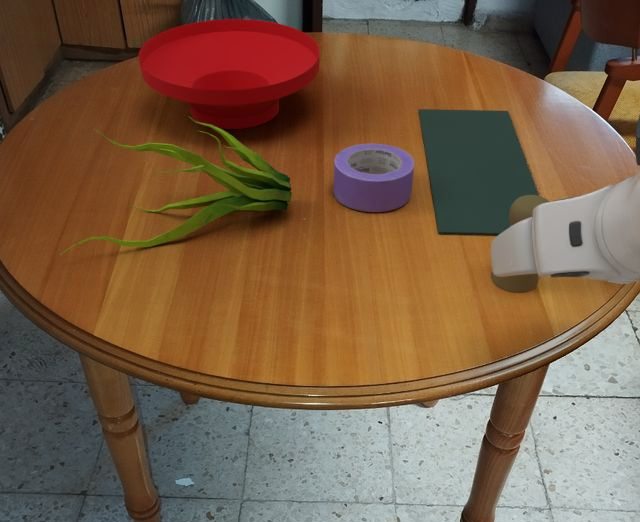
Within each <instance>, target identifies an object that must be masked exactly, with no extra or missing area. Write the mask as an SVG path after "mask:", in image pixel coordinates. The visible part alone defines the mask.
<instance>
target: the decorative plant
mask: <svg viewBox="0 0 640 522" xmlns="http://www.w3.org/2000/svg"><path fill="white" fill-rule="evenodd" d="M187 118H189V119H190V120H192V121H193V122H194V123H196V124H198V125H201V126H204V127H208V128H210V129H211V130H214V131H215V132H216V133H218V134H220V135H221V136H222V137H223V138H224V140H225V141H226V142H227V143H228V145H229V146H226V145H224V144H222V145H221V140H220V139H219V138H218V137H217V136H215V135H213V134H210V133H209V132H206V131H201V130H198V132H200V133H203V134H207V135H209V136H211V137H212V138H214V139H215V140H216V141H217V143H218V153H219V157H220V160H221V163H222V166H224V167H225V168H223V167H221V166H219V165H216V164H214V163H212V162H210V161H208V160H207V159H205V158H204V157H202V156H201V154H197V153H195V152H192V151H189V150H187V149H185V148H183V147H181V146H177V145H176V144H172V143H161V142H147V143H143V144H139V145H134V146H131V145H127V144H120V143H118V142H116V141H114V140H113V139H109V138H107V136H105V135H104V134H102V133H101V132H100V131H99V130H97V129H96V128H94V131H96V132H97V133H98V134H100V136H103V137H104V138H105V139H106V140H108V141H109V142H110V143H112V144H113V145H115V146H118V147H120V148H122V149H127V150H133V151H136V152H153V153H157V154H161V155H164V156H168V157H171V158H174V159H176V160H178V161H181V162H184V163H187V164H190V165H192V166H194V167H190V168H187V169H186V168H185V169H177V170H169V171H166V173H198V172H202V173H204V174H206V175H208V176H209V177H210V178H211V179H213V180H214V181H215V182H216V183H218V185H221V186H222V187H224V188H226V189H228V190H224V191H219V192H216V193H212V194H207V195H203V196H199V197H195V198H190V199H188V200H183V201H177V202H173V203H169V204H166V205H164V206H163V207H161V208H159V209H155V210H153V209H146V208H141V207H138V206H135V205H131V204H128V206H130V207H133V208H136V209H138V210H141V211H146V212H151V213H162V212H165V211H168V210H169V211H170V210H187V209H188V210H189V209H196V208H201V207H202V209H200V210H199V211H198V212H196V213H195V214H194V215H192V216H191V217H189V218H188V219H187V220H186V221H184V222H183V223H181V224H180V225H178V226H177V227H175V228H172V229H170V230H168V231H166V232H163V233H161V234H159V235H157V236H155V237H152V238H150V239H148V240H122V239H119V238H113V237H109V236H105V235H104V236H103V235H102V236H101V235H100V236H90V237H88V238H86V239H84V240H81V241H79V242H76V243H74V244H72V245H71V246H69V248H67V249H65V250H64V251H62V252H61V253H59V254H58V256H61V255H63V254H64V253H66V252H67V251H69V250H70V249H71V248H73V247H75V246H78V245H81V244H83V243H86V242H89V241H92V240H103V241H104V240H105V241H108V242H111V243H113V244H117V245H120V246H122V247H135V248H137V247H138V248H150V247H154V246H157V245H161V244H164V243H167V242H171V241H174V240H178V239H181V238H183V237H185V236H187V235H188V234H190V233H192V232H194V231H196V230H197V229H200V228H201V227H204V226H205V225H207V224H209V223H211V222H213V221H215V220H217V219H219V218H221V217H223V216H225V215H227V214H229V213H231V212H232V213H233V212H240V211H258V212H265V211H272V210H279V211H287V210H288V207H289V203H291V202H292V196H293V195H292V194H293V192H292V185H291V183H290V182H291V177H289V175H288V174H286V173H282V172H280V171H278V170H276V168H274V167H273V166H272V165H271V164H270V163H268V162H267V161H266V160H265V159H264V158H263V157H262V156H261V155H260V154H259V153H258V152H255V151H254V150H253V151H252V150H251V149H250V148H248V147H247V146H245V144H243V143H242V142H240V141H239V140H238V139H237V138H235V136H233V135H231V133H229V132H227V131H226V130H225V129H220V128H217V127H215V126H213V125H210V124H205V123H200V122H198V121H197V120H195V119H194V118H193V117H192V116H189V115H188V116H187ZM222 146H223V147H225V148H227V149H232V150H233V151H234V152H235V153H236V154H237V156H239V157H240V158H241V160H243V161H244V162H245V163H247V164H249V165H251V167H253V168H255V169H253V168H248V167H244V166H241V165H238V164H237V163H235V162H233V161H230V160H228V159H226V157H225V155H224V152H223V150H222ZM226 168H227V169H226ZM159 173H163V171H153V172H152V174H159Z"/></svg>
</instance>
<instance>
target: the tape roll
mask: <svg viewBox="0 0 640 522" xmlns="http://www.w3.org/2000/svg"><path fill="white" fill-rule="evenodd" d="M333 161H334V164H333V166H334V167H333V195H334V197H335V200H336V201H338V202H339V203H340V204H341V205H343V206H344V207H347V208H349V209H352V210H355V211H360V212H367V213H384V212H385V213H386V212H390V211H394V210H397V209H400V208H402V207H404V206H405V205H407V204H408V202H409V201H410V199H411V197H412V190H413V183H414V182H413V181H414V172H415V160H414V158H413V157H412V156H411V154H410V153H409V152H407V151H405V150H404V149H402V148H400V147H397V146H393V145H389V144H382V143H360V144H355V145H352V146H349V147H346V148H343V149H341V151H339V152H338V153H337V154H336V155H335V157H334V160H333Z"/></svg>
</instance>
